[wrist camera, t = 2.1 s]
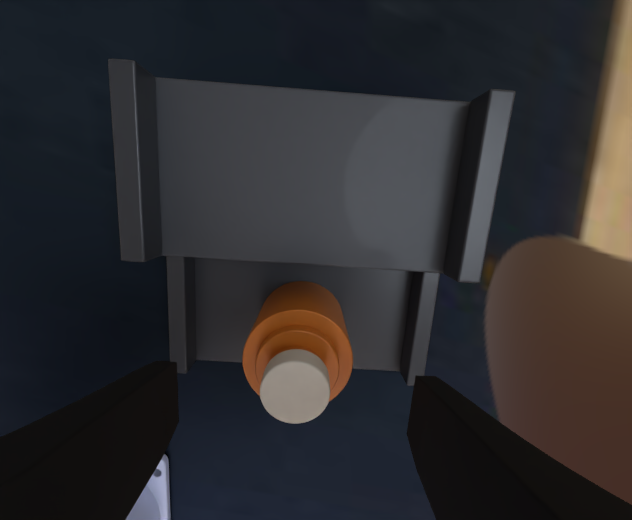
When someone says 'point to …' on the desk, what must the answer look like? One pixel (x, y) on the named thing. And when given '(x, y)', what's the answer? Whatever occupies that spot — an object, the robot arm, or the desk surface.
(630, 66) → the desk surface
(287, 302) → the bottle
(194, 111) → the rack
